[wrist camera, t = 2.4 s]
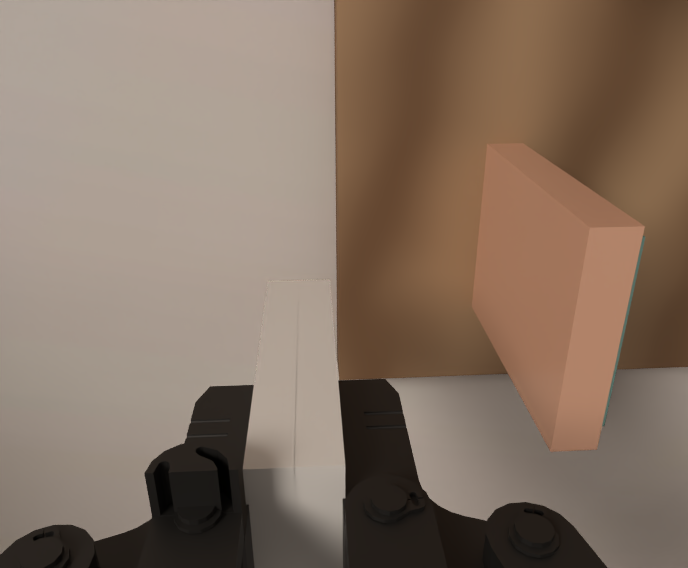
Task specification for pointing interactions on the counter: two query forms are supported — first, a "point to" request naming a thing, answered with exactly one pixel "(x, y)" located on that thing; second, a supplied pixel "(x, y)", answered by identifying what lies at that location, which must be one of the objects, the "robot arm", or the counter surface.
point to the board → (470, 156)
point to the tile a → (554, 290)
